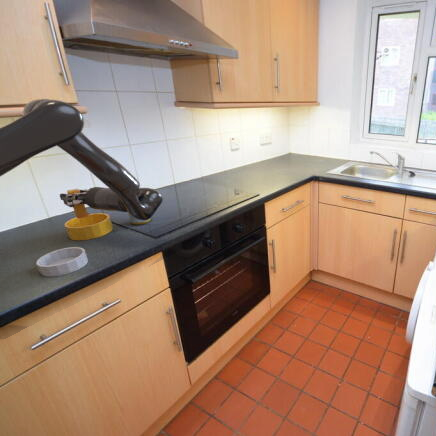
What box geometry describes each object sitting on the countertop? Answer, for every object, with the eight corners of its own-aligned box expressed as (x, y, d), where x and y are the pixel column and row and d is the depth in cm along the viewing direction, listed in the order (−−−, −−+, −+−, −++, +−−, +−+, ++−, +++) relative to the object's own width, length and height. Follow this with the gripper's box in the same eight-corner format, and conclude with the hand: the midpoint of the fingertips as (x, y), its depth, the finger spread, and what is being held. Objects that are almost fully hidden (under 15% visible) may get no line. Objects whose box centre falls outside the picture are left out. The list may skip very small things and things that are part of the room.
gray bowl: (65, 278, 85) (61, 267, 83) (30, 275, 86) (25, 265, 84) (97, 257, 95) (93, 248, 94) (65, 255, 96) (61, 246, 95)
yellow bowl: (93, 241, 105) (89, 228, 103) (59, 239, 106) (54, 226, 104) (121, 225, 117) (117, 214, 115) (90, 224, 118) (86, 212, 116)
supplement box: (87, 214, 108) (78, 187, 104) (88, 216, 106) (79, 190, 102) (76, 216, 106) (66, 189, 102) (77, 219, 104) (67, 192, 100)
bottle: (143, 217, 125) (134, 183, 119) (154, 220, 122) (146, 185, 116) (127, 223, 119) (117, 187, 113) (138, 226, 116) (128, 190, 110)
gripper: (122, 182, 104) (85, 178, 108) (81, 195, 91) (41, 190, 96) (127, 202, 107) (91, 197, 111) (89, 217, 94) (50, 211, 99)
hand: (68, 194), depth 103 cm, fingers closed on supplement box, 4 cm apart
